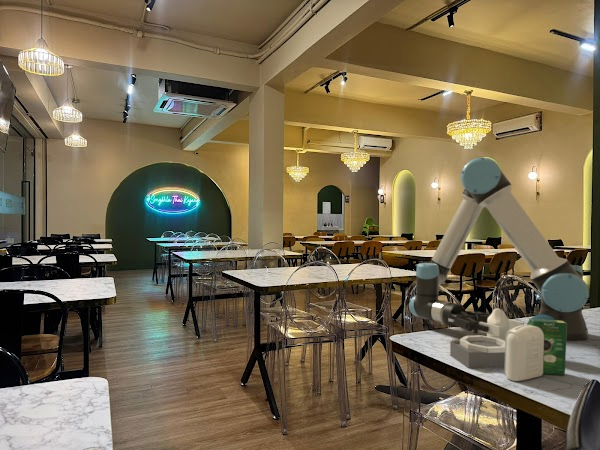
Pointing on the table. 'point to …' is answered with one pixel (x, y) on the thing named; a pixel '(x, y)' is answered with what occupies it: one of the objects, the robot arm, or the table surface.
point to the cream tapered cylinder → (499, 322)
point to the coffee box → (553, 344)
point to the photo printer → (524, 352)
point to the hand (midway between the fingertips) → (511, 329)
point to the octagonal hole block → (478, 351)
